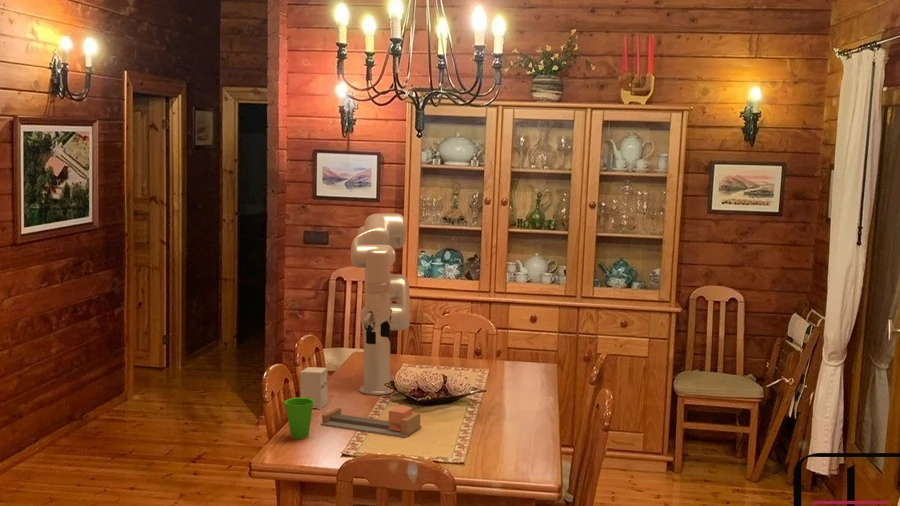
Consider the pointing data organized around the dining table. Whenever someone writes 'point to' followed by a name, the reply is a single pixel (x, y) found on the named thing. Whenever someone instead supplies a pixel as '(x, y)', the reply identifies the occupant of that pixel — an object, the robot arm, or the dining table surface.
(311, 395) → the supplement box
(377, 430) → the track
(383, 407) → the dining table surface
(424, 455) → the dining table surface
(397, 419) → the orange cube
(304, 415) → the cup
